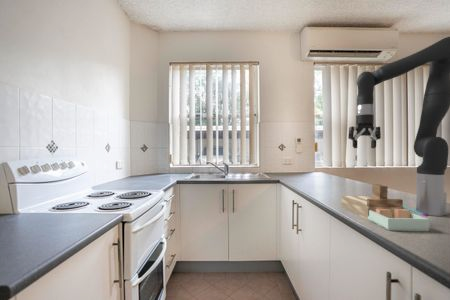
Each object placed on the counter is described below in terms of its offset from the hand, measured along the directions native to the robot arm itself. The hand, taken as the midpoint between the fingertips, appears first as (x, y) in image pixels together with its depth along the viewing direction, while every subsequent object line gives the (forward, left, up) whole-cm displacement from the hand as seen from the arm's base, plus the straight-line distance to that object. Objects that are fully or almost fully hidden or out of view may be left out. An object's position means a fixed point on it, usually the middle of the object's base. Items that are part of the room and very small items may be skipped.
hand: (364, 148), depth 118 cm
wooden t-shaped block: (+4, +20, -23) cm, 31 cm away
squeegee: (-14, +2, -29) cm, 32 cm away
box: (+4, +29, -28) cm, 41 cm away
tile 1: (+7, +26, -25) cm, 37 cm away
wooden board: (+4, +12, -28) cm, 31 cm away
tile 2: (0, +26, -25) cm, 36 cm away
